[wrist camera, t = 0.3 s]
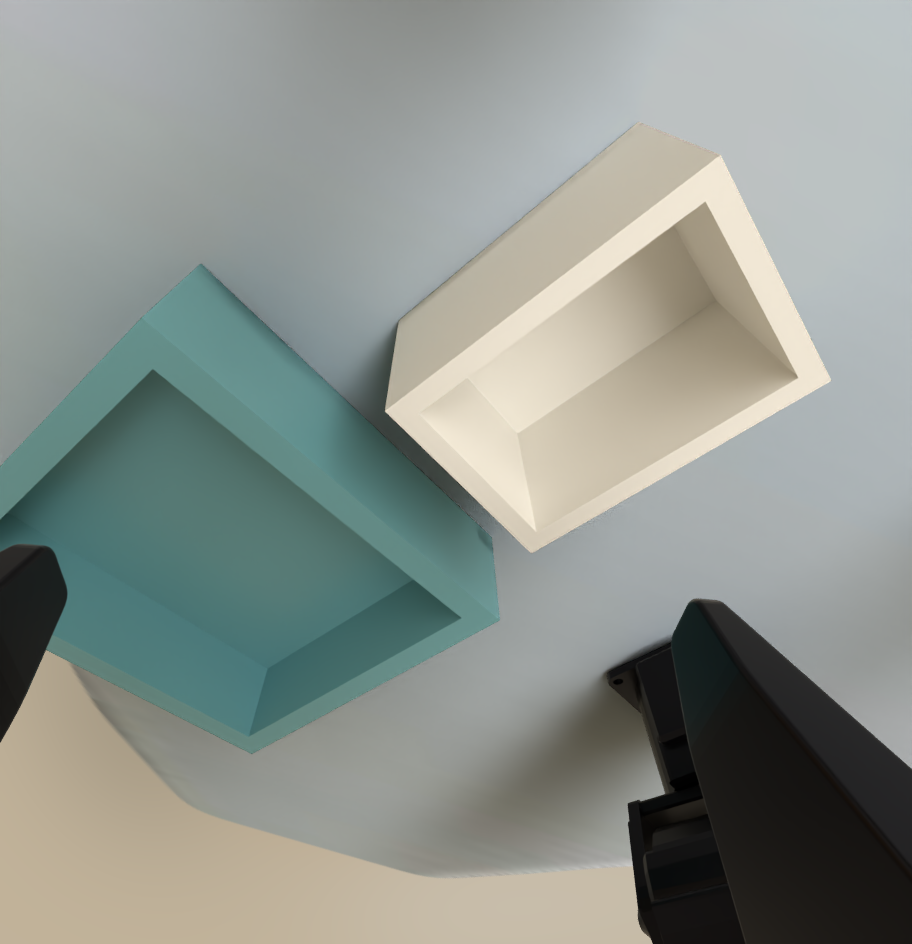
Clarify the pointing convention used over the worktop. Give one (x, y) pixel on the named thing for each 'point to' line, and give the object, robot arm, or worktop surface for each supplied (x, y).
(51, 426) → the big crate
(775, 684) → the robot arm
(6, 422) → the worktop surface
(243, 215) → the worktop surface
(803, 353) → the small crate
